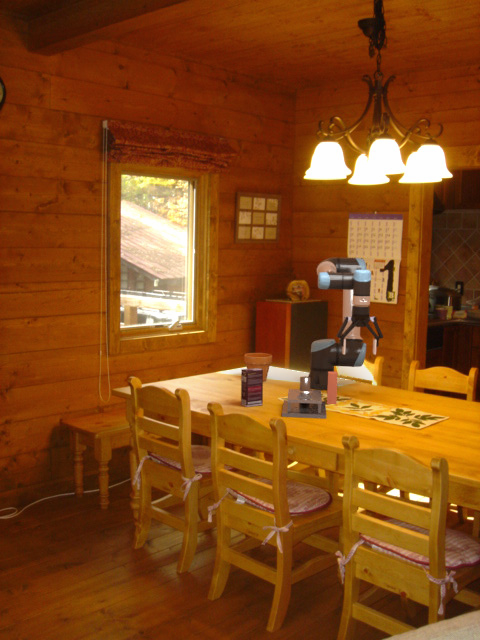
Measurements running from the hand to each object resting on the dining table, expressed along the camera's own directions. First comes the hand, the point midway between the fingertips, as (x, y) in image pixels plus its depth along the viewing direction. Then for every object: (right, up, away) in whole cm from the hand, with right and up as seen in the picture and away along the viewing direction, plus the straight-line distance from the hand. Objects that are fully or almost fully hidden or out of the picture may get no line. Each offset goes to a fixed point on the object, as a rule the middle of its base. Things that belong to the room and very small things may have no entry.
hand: (358, 354), depth 318 cm
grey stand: (-25, -24, -9) cm, 35 cm away
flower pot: (-43, -16, +55) cm, 71 cm away
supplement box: (-47, -22, -2) cm, 52 cm away
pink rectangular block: (-11, -22, +5) cm, 25 cm away
